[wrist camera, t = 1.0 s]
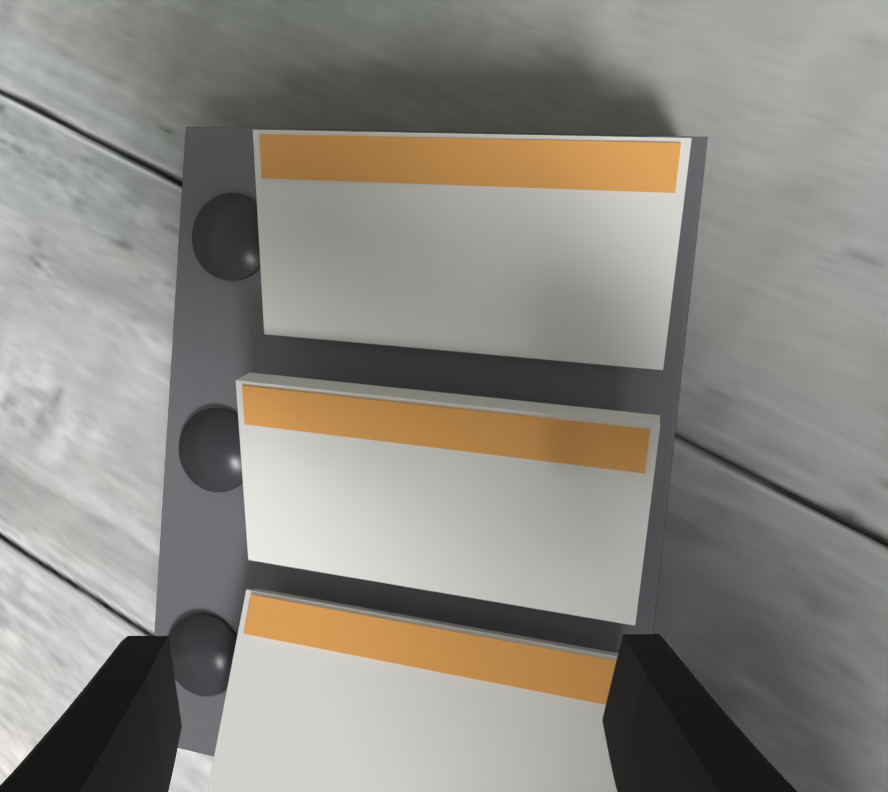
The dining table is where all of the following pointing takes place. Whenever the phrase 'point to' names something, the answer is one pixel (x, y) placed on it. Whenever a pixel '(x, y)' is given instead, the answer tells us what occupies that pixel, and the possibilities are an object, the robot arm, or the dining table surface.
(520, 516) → the rocker middle
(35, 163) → the dining table surface
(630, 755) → the robot arm
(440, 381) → the rocker switch panel
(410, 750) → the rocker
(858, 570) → the dining table surface
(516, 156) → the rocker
